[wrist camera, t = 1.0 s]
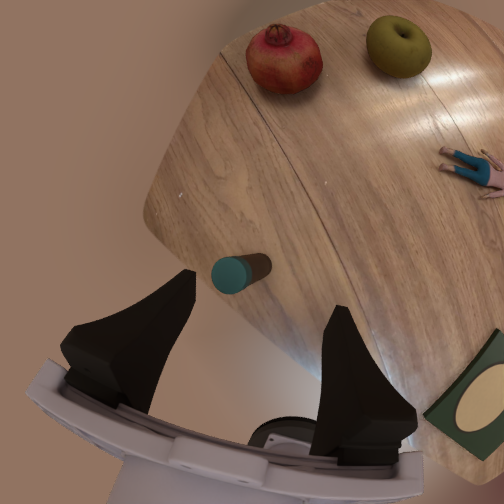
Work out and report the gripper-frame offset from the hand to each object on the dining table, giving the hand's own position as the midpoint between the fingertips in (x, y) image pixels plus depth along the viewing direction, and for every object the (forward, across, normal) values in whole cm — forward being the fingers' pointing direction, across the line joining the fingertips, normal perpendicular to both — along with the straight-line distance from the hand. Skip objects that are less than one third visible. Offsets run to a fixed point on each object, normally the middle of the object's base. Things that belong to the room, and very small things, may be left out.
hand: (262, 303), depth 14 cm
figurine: (+18, -23, -8) cm, 31 cm away
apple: (+26, -10, -17) cm, 32 cm away
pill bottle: (+14, +1, +8) cm, 16 cm away
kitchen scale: (+3, -35, +15) cm, 38 cm away
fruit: (+25, +2, -11) cm, 27 cm away
